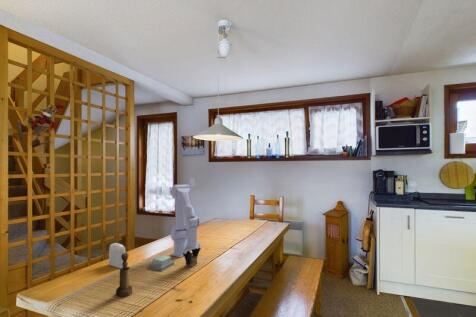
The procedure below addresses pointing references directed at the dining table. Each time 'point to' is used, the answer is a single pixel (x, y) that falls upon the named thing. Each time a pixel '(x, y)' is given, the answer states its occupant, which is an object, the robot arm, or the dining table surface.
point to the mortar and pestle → (124, 279)
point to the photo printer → (116, 255)
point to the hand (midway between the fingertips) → (191, 262)
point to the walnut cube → (193, 261)
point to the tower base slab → (159, 267)
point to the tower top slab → (161, 260)
